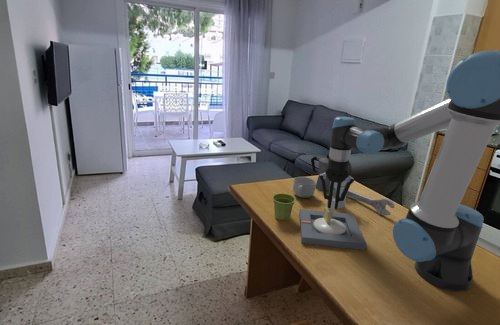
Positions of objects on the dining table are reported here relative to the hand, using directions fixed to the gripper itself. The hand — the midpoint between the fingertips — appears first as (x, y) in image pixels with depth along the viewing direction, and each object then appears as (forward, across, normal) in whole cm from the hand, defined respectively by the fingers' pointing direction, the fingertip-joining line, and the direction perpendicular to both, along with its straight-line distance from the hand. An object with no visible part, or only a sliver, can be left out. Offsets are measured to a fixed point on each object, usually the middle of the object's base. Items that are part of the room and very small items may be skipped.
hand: (331, 215), depth 119 cm
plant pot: (+4, +19, 0) cm, 20 cm away
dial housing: (+4, 0, +5) cm, 6 cm away
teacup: (+4, +13, -24) cm, 27 cm away
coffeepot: (+5, +4, -39) cm, 39 cm away
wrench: (+5, -15, -24) cm, 28 cm away
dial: (+3, +1, +5) cm, 5 cm away
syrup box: (+4, -3, -19) cm, 19 cm away
